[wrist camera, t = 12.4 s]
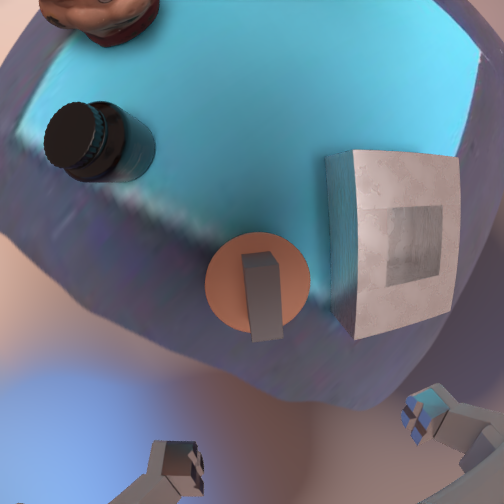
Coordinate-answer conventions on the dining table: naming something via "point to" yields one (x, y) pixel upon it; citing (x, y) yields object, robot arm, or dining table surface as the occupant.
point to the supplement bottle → (98, 143)
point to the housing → (392, 237)
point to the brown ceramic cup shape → (102, 17)
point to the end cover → (257, 284)
